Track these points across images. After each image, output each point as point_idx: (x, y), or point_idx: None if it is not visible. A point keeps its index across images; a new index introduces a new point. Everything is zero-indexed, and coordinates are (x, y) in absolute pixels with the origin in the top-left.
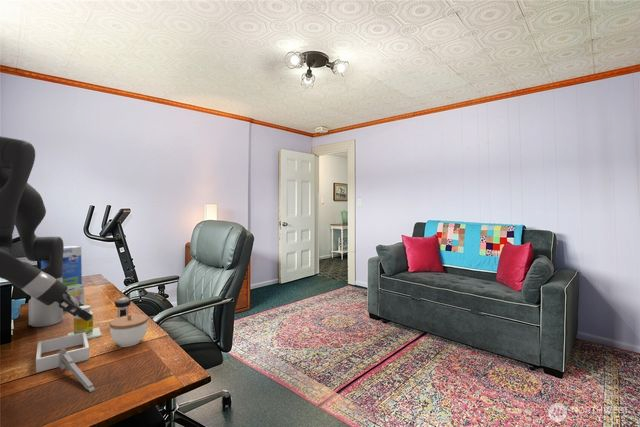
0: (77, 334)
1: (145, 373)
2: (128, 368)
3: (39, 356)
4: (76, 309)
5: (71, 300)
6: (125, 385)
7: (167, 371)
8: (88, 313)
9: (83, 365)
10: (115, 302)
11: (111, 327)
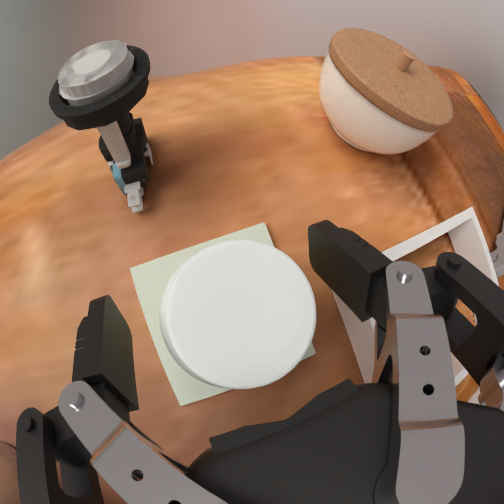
0: None
1: (471, 121)
2: (466, 139)
3: None
4: (284, 373)
5: (451, 411)
6: (495, 149)
7: (460, 96)
8: (346, 236)
9: None
10: (88, 108)
11: (443, 127)
